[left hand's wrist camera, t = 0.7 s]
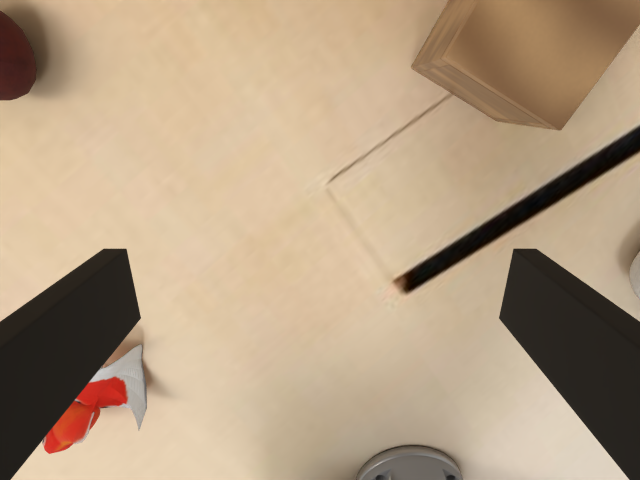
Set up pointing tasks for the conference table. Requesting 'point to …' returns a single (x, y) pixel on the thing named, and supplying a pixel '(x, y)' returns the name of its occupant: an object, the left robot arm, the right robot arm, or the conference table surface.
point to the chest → (457, 81)
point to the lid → (542, 50)
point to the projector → (635, 275)
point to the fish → (102, 401)
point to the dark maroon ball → (15, 60)
